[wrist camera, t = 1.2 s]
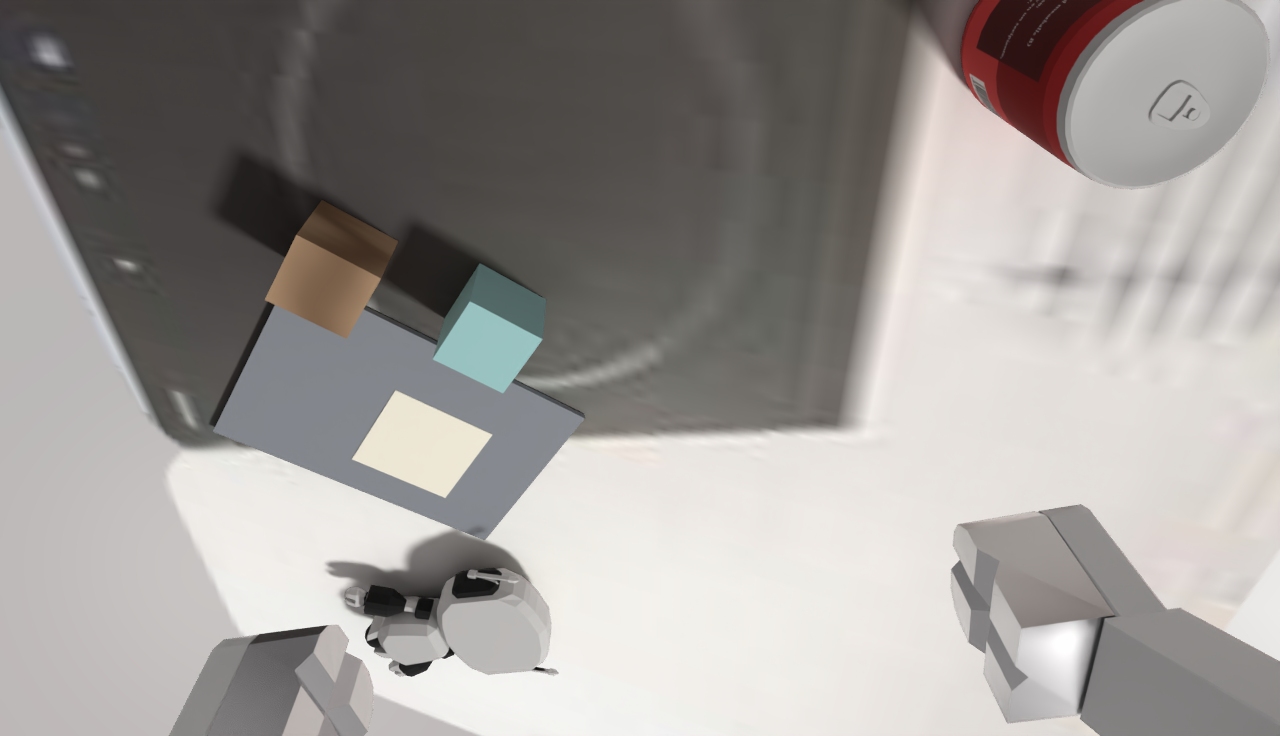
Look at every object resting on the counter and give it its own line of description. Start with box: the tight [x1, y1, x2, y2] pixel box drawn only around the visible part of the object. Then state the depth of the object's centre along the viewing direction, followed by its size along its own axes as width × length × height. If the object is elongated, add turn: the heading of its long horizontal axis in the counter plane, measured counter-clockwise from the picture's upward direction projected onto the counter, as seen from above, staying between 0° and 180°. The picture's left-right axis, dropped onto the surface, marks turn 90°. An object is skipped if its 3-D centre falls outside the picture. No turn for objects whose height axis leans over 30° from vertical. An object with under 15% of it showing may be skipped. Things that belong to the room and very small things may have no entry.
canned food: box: [961, 0, 1270, 190], centre depth 34 cm, size 8×8×11 cm
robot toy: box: [345, 568, 559, 677], centre depth 60 cm, size 12×4×15 cm
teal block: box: [433, 263, 546, 393], centre depth 44 cm, size 4×4×4 cm
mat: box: [213, 305, 585, 540], centre depth 50 cm, size 20×14×1 cm
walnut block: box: [265, 200, 398, 339], centre depth 42 cm, size 4×4×4 cm
